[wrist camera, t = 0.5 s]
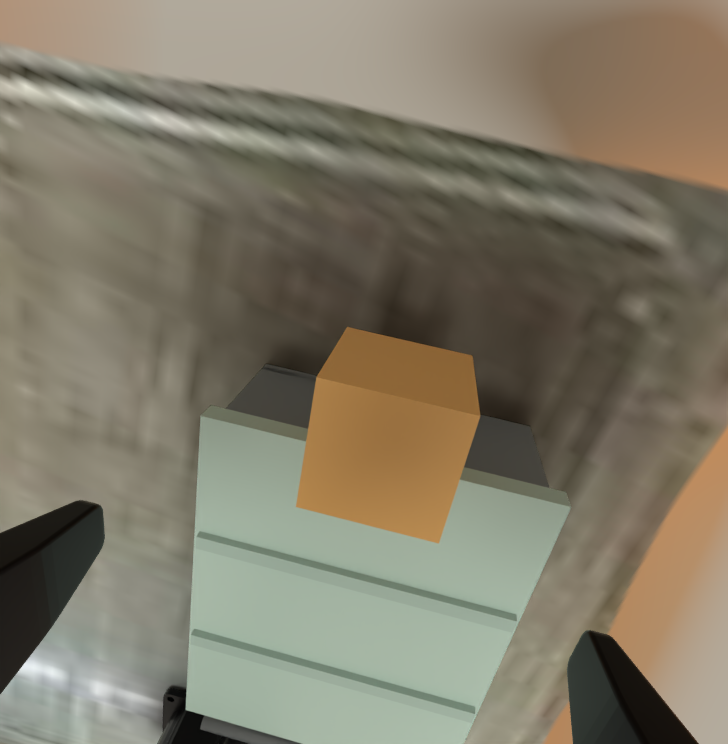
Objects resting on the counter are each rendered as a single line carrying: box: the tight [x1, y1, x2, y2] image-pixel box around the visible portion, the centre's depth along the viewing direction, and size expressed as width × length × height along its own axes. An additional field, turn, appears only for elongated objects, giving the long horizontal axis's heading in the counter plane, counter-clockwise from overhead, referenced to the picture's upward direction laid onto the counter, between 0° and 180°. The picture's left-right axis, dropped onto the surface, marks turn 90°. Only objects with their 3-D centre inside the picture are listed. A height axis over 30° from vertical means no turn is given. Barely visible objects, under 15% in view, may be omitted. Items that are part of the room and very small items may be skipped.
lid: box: [186, 327, 571, 744], centre depth 18 cm, size 20×13×4 cm, turn 169°
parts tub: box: [200, 364, 549, 744], centre depth 23 cm, size 18×12×6 cm
